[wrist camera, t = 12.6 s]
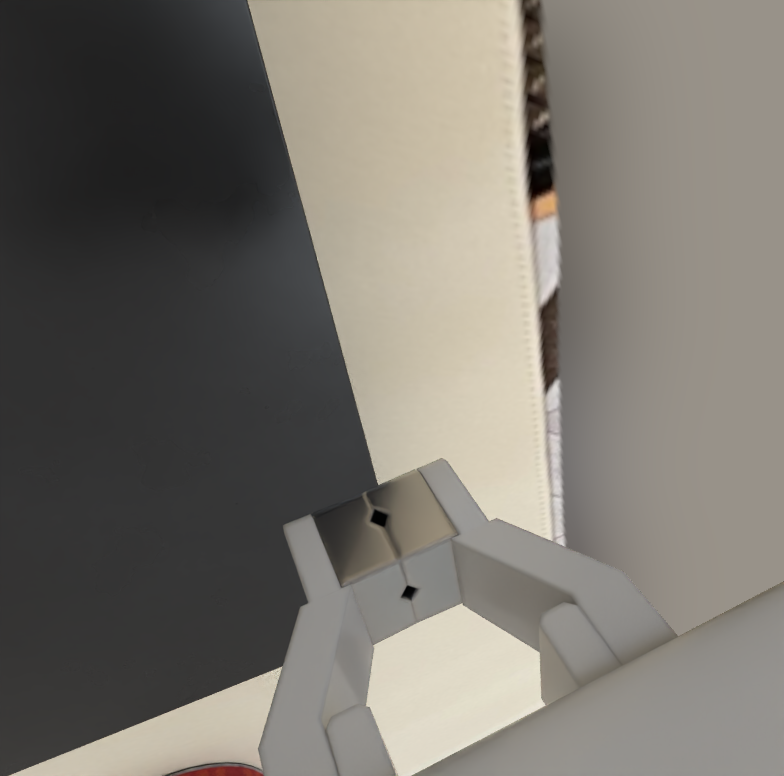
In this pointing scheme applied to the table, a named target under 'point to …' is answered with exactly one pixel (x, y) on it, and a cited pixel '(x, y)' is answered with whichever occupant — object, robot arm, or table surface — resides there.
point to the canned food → (221, 770)
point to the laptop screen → (152, 368)
